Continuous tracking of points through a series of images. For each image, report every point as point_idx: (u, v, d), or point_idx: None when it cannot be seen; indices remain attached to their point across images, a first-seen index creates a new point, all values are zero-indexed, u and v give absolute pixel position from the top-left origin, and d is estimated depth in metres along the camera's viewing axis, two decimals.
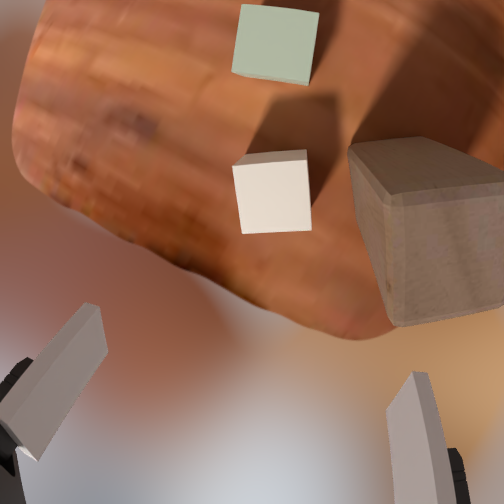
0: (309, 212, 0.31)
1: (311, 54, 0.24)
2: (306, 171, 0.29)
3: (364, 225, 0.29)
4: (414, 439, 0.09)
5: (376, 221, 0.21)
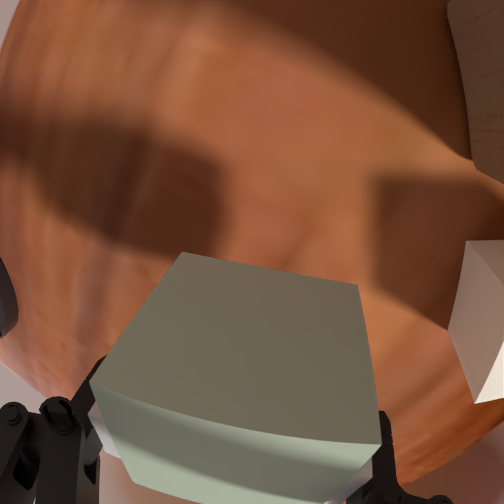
0: None
1: (265, 435, 0.06)
2: None
3: None
4: None
5: None
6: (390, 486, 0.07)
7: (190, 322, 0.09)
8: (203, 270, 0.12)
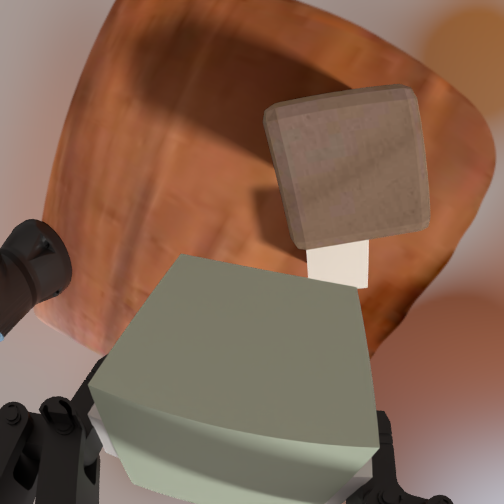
0: None
1: (263, 438, 0.06)
2: None
3: None
4: None
5: None
6: (390, 486, 0.07)
7: (189, 325, 0.09)
8: (202, 272, 0.12)
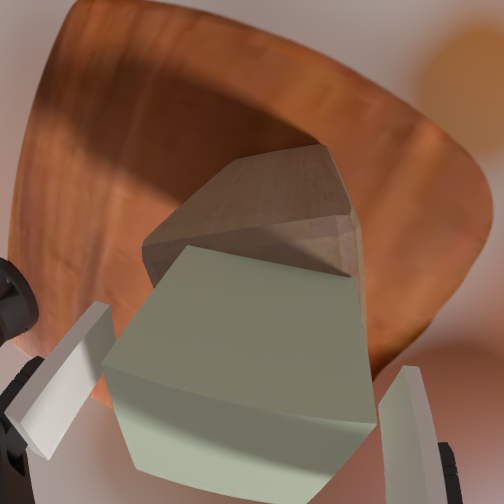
0: None
1: (268, 413, 0.07)
2: None
3: None
4: (404, 432, 0.09)
5: None
6: None
7: (197, 309, 0.10)
8: (208, 262, 0.12)
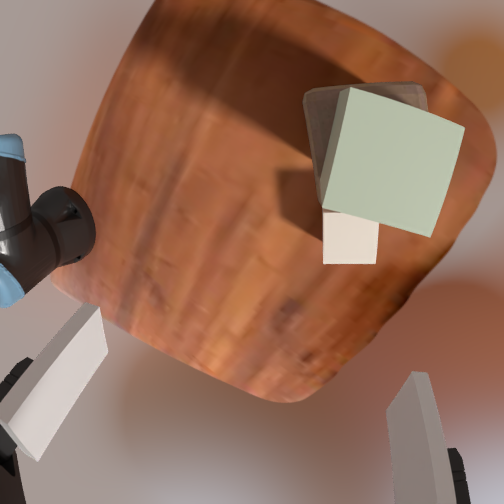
0: None
1: (424, 113, 0.14)
2: (332, 213, 0.39)
3: None
4: (414, 439, 0.09)
5: None
6: None
7: None
8: None
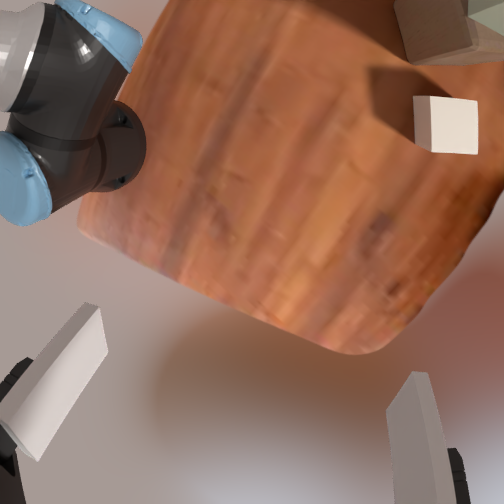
0: (465, 100, 0.30)
1: None
2: (437, 97, 0.30)
3: (473, 61, 0.26)
4: (414, 439, 0.09)
5: (480, 54, 0.20)
6: None
7: None
8: None
